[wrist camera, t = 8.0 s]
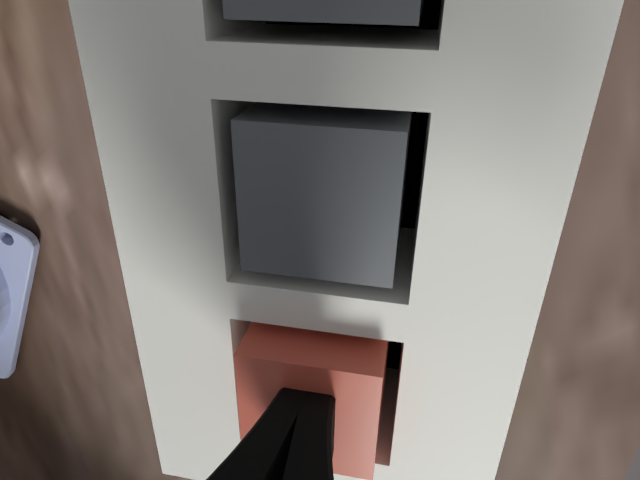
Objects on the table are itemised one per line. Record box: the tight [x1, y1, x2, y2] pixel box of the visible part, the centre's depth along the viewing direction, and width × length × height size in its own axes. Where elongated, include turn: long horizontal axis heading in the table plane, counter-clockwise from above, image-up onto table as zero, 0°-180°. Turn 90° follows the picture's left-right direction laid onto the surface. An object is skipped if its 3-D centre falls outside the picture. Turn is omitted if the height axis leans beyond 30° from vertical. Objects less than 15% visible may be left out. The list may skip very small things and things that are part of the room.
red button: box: [234, 322, 389, 480], centre depth 14 cm, size 4×4×4 cm
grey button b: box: [231, 102, 413, 289], centre depth 13 cm, size 4×4×4 cm
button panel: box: [68, 0, 624, 480], centre depth 13 cm, size 20×10×4 cm, turn 179°
